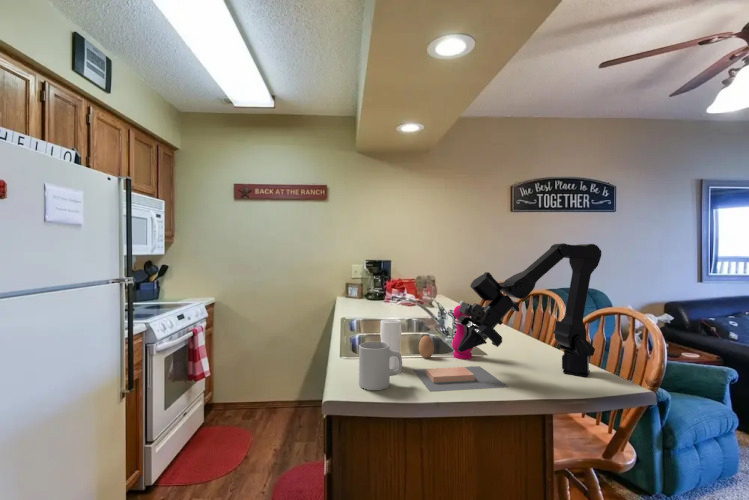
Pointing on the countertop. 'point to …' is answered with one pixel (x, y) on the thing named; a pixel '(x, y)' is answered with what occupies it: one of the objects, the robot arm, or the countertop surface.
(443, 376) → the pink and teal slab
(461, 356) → the pepper mill
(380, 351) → the mug
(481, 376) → the charcoal rubber mat
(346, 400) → the countertop surface
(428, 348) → the egg
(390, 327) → the white cylinder
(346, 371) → the countertop surface
